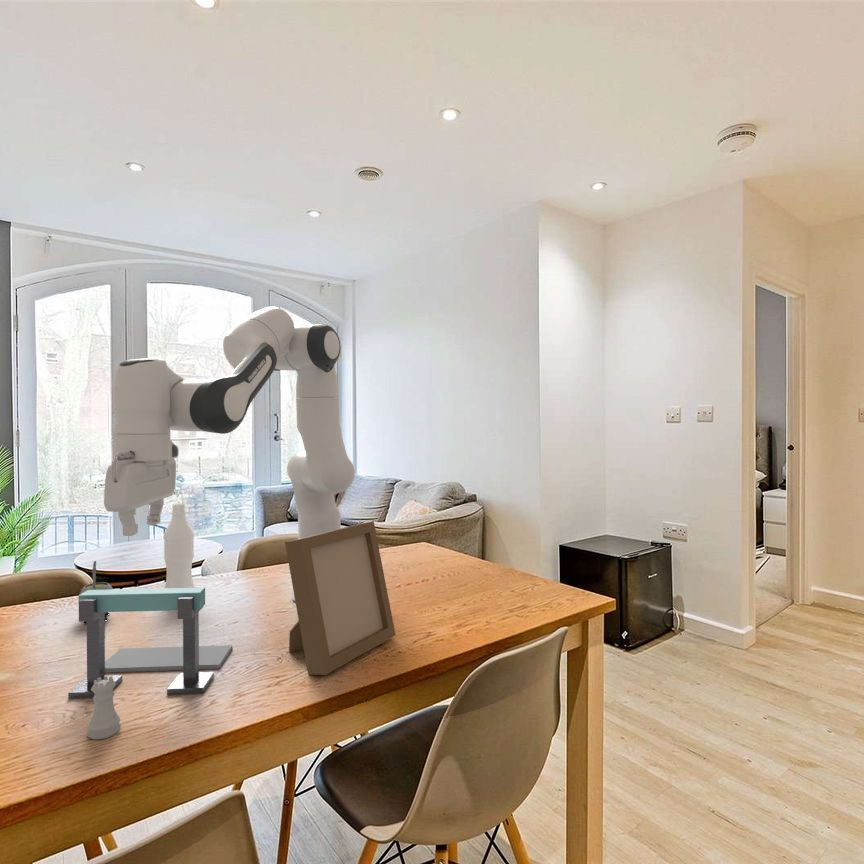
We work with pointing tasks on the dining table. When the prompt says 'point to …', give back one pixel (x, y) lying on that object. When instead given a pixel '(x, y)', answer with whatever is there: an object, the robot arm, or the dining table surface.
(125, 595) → the rail
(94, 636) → the forked support stand
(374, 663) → the dining table surface
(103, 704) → the rook chess piece
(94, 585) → the mate gourd
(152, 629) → the dining table surface
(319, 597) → the photo frame
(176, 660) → the mat
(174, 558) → the water bottle
